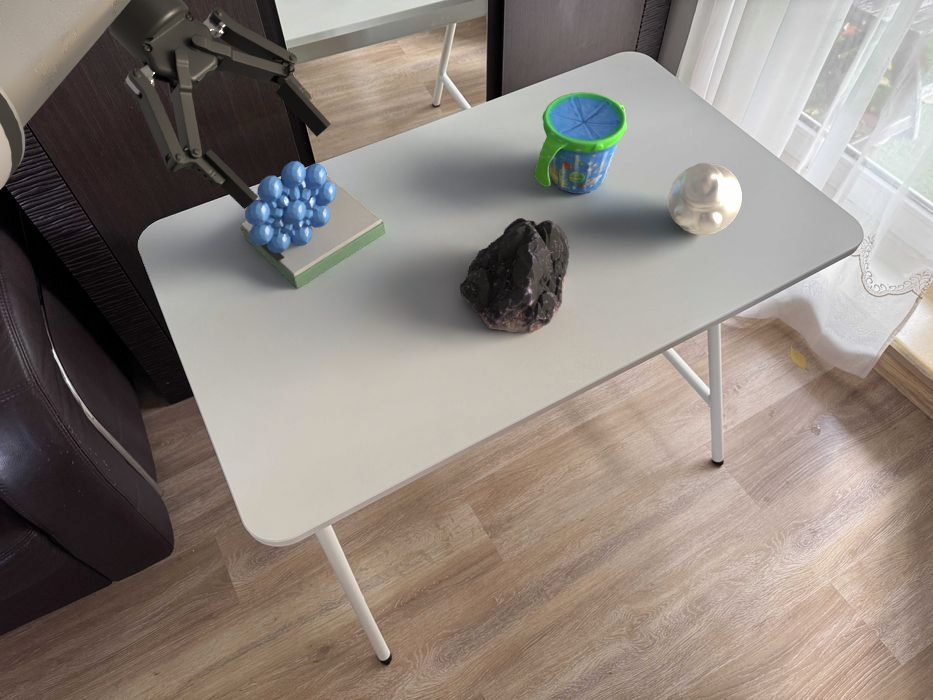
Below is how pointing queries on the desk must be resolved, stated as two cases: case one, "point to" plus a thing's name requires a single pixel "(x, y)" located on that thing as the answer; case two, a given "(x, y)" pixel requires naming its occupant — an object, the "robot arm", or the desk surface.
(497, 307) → the dark rock
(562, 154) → the snack cup
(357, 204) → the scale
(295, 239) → the grapes
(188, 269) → the desk surface
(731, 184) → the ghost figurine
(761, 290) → the desk surface
